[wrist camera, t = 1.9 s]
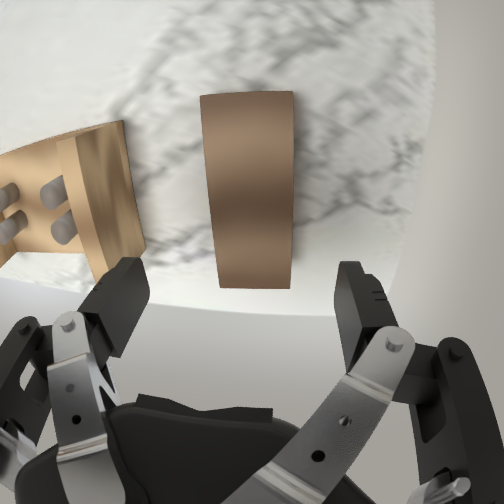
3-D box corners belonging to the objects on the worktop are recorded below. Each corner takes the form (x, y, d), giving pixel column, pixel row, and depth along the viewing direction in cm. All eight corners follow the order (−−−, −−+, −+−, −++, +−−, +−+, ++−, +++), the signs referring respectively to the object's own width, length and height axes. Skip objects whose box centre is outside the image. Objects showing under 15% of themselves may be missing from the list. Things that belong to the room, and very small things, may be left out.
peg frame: (-12, 160, 20) (-50, 181, 14) (122, 120, 18) (74, 136, 13) (14, 247, 25) (-16, 276, 20) (145, 248, 24) (116, 292, 19)
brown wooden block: (214, 93, 17) (199, 95, 14) (289, 91, 17) (293, 91, 13) (227, 257, 24) (219, 288, 21) (288, 257, 24) (289, 288, 20)
